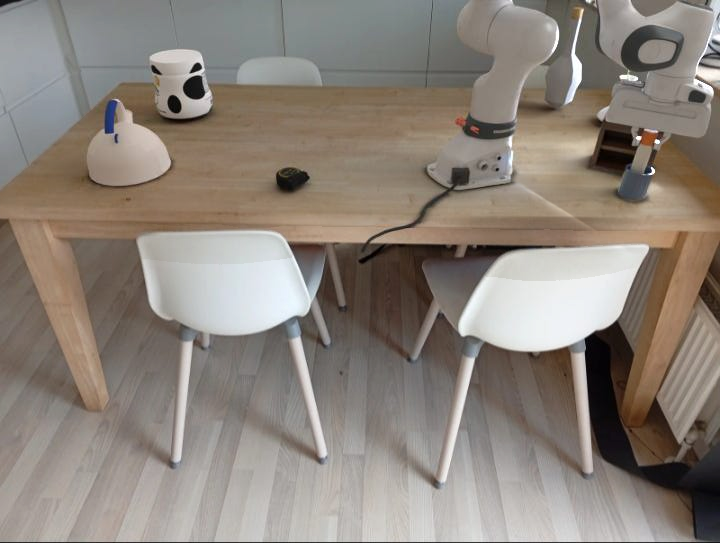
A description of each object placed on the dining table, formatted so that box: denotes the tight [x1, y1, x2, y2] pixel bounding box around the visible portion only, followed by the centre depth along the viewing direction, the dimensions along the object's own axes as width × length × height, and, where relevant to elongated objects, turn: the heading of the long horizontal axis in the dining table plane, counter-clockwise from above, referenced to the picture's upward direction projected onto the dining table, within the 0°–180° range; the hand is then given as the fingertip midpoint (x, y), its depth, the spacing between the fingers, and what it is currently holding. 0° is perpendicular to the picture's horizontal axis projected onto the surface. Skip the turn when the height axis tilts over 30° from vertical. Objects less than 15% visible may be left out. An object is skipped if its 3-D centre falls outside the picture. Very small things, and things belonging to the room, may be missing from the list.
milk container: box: [148, 48, 214, 121], centre depth 166 cm, size 17×17×18 cm
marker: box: [630, 129, 658, 174], centre depth 123 cm, size 3×3×12 cm
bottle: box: [544, 6, 585, 110], centre depth 166 cm, size 11×11×30 cm
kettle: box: [86, 98, 172, 187], centre depth 135 cm, size 20×21×18 cm
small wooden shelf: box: [589, 113, 664, 174], centre depth 137 cm, size 9×14×13 cm, turn 61°
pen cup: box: [617, 163, 656, 201], centre depth 127 cm, size 6×6×7 cm
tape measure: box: [275, 166, 310, 191], centre depth 132 cm, size 7×7×4 cm
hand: (645, 147), depth 122 cm, fingers closed on marker, 3 cm apart
